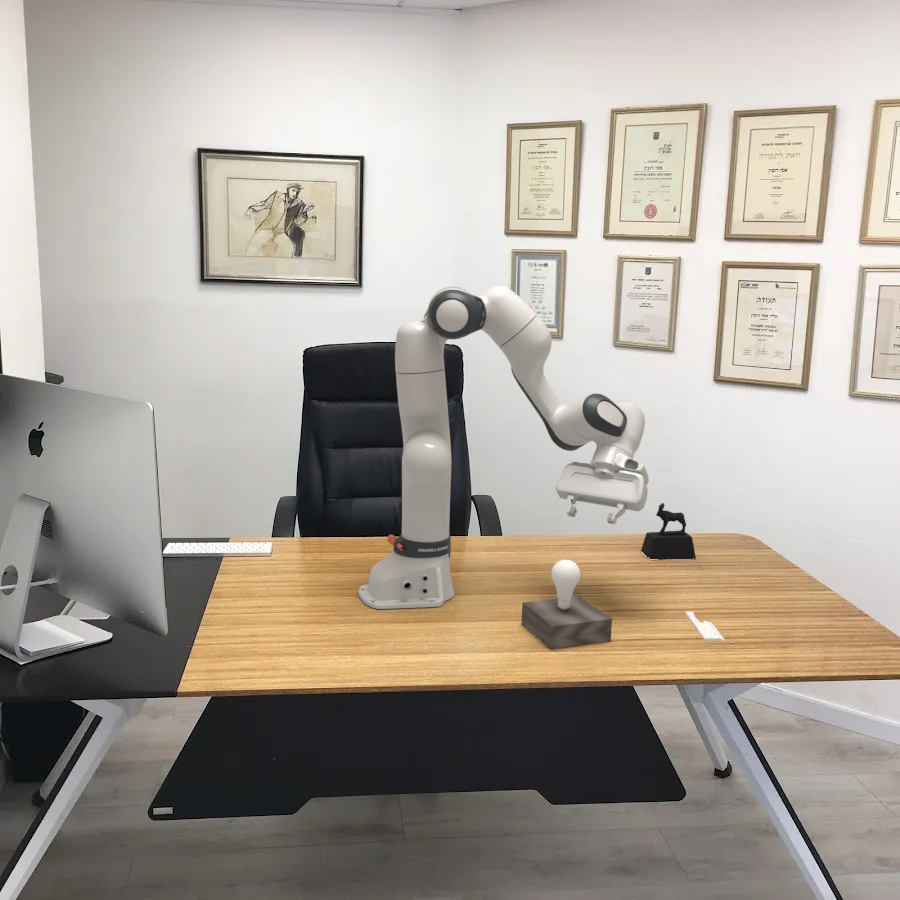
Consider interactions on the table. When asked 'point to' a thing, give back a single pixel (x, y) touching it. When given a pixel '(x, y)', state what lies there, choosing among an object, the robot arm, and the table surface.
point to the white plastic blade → (705, 629)
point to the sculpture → (669, 539)
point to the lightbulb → (565, 581)
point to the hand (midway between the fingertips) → (590, 518)
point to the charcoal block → (566, 622)
